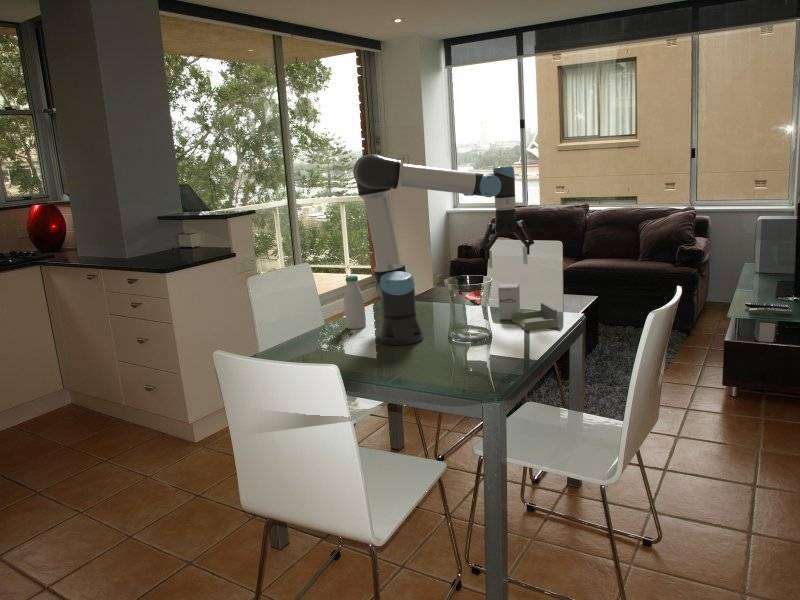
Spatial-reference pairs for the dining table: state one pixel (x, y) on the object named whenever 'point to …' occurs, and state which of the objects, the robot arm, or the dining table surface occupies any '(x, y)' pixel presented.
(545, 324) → the chute mount
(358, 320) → the milk bottle
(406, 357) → the dining table surface
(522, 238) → the robot arm
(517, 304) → the supplement box
